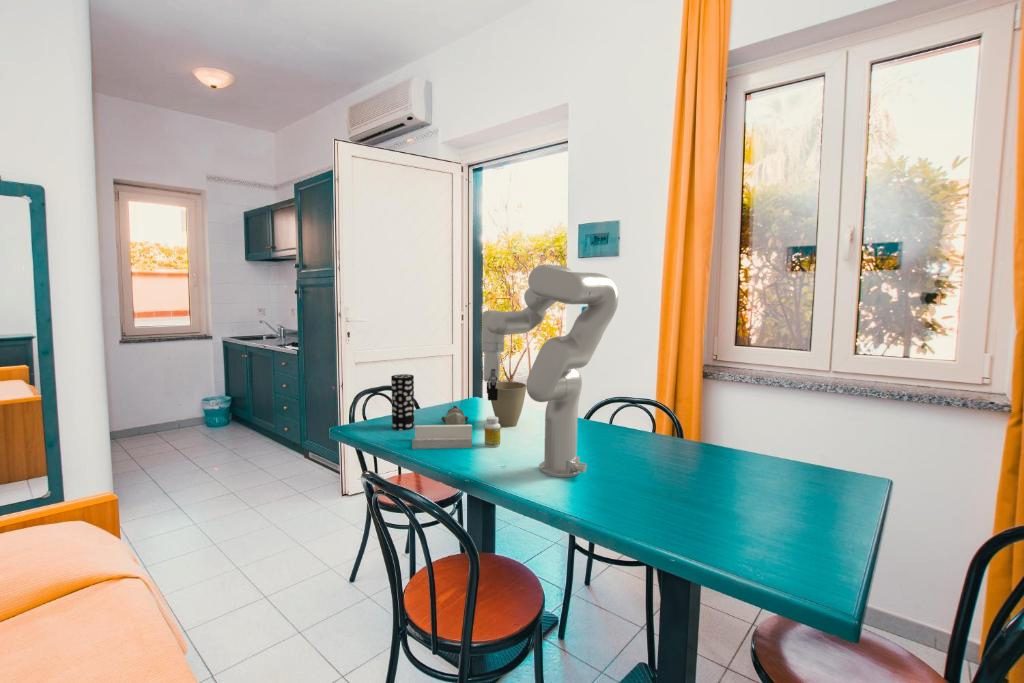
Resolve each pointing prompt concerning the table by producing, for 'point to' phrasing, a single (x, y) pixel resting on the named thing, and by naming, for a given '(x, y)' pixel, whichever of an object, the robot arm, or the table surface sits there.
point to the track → (441, 443)
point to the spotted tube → (402, 402)
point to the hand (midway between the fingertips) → (491, 396)
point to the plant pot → (509, 402)
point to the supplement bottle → (492, 432)
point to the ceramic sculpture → (455, 417)
